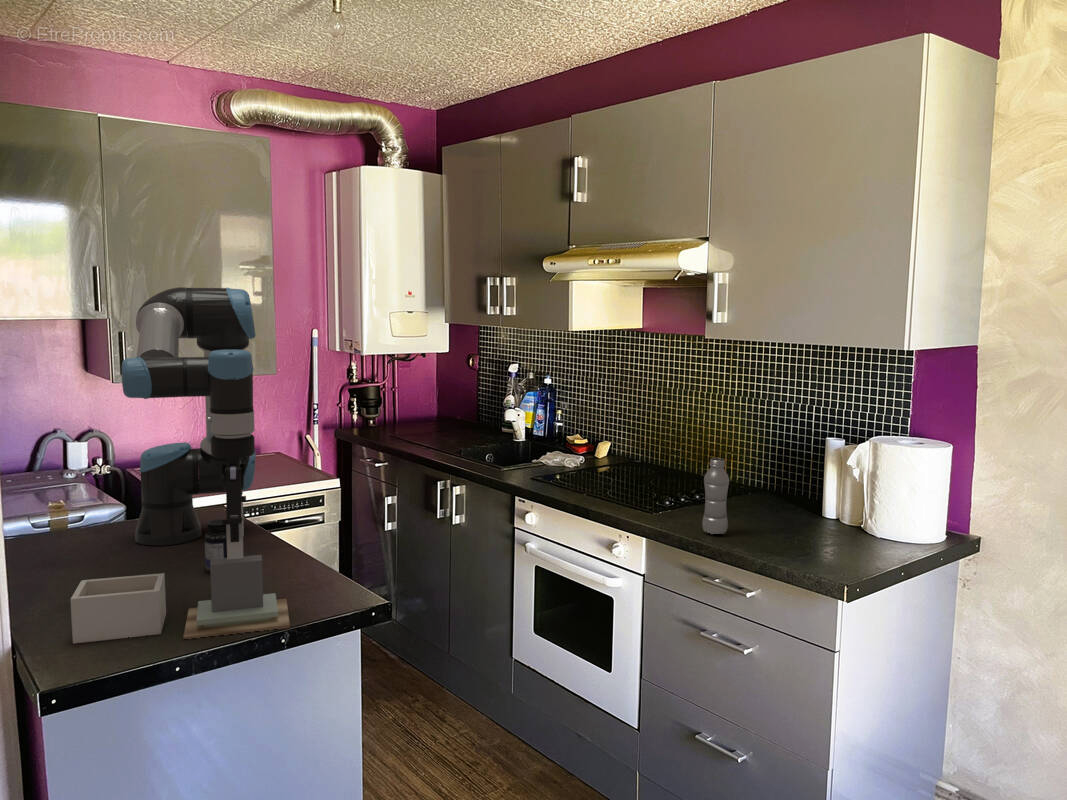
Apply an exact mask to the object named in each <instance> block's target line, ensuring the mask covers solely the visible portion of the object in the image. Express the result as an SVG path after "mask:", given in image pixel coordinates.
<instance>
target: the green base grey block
mask: <svg viewBox="0 0 1067 800" xmlns="http://www.w3.org/2000/svg"><path fill="white" fill-rule="evenodd" d="M209 574H210V598H211V599H206V600H200V601H199V600H198V602H197V608H198V610H197V620H196V622H197V626H200V625H205V628H206V627H215V626H223V625H232V624H241V623H250V622H258V621H267V620H271V617H278V607H277V600H278V599H277V594H276V593H274V592H273V593H264V581H263V579H264V578H263V556H262V554H256V555H245V556H244V555H243V558H240V559H228V560H227V558H219V559H211V561H210V573H209Z"/></svg>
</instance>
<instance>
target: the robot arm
mask: <svg viewBox="0 0 1067 800" xmlns="http://www.w3.org/2000/svg"><path fill="white" fill-rule="evenodd" d="M135 327H136V330H137V332H138V334H139V336H138V343H137V349H136V350H137V352H136V356H135V357H128V358H125V359H123V360H122V363H121V383H122V384H121V385H122V386H121V387H122V391H123V395H124V396H125V397H126V398H129V399H144V400H146V399H157V398H158V399H163V398H166V399H167V398H187V397H188V398H190V397H192V398H196V397H197V398H198V397H199V398H200V397H204V398H205V399H204V400H205V426H206V427H205V431H206V436H205V437H204V438H203V439H202V440H200V443H199V444H200V445H199V448H192V445H191V443H189V442H174V443H166V444H161V445H157V446H153V447H151V448H148V449H145V450H144V451H143V452H142V453H141V454H140V459H139V461H140V464H139V465H140V468H139V470H138V471H139V472H140V487H141V488H140V490H141V491H140V492H141V511H140V514H139V518H138V521H137V525H136V528H135V530H134V531H135V533H134V536H135V542H136V543H138V544H140V545H145V546H152V547H153V546H156V547H157V546H171V545H172V546H173V545H178V544H184V543H188V542H191V541H195V540H197V539H198V538H200V537H201V536H202V525H201V523H200V520H199V517H198V515H197V512H196V509H195V508H194V507H195V506H194V500H193V496H194V495H195V496H197V495H210V494H221V493H222V494H223V493H225V497H226V499H225V502H226V503H225V504H226V505H225V506H226V507H225V509H226V512H225V513H226V517H225V519H226V520H222V525H226V533H227V560H228V559H240V558H243V556H244V536H245V534H244V533H245V532H244V526H245V525H244V503H243V502H247V495H243V494H244V493H243V492H244V491H245V492H246V491H248V490H249V489H250V488H251V487H252V485H253V483H254V478H255V477H254V476H255V472H256V470H255V469H256V458H257V457H256V455H257V454H256V453H257V452H256V449H255V447H256V446H255V445H256V444H255V442H256V440H255V435H254V434H253V433H254V432H255V430H256V429H255V410H254V373H253V372H254V366H253V355H252V353H251V352H250V351H249V350H247V348H249V346H250V340H252V339H254V338H256V336H257V335H256V329H255V321H254V315H253V309H252V302H251V298H250V294H249V293H248V291H246V290H245V289H242V288H232V287H231V288H230V287H181V286H180V287H172V288H169V289H165V290H163V291H160V292H158V293H156V294H155V295H153V296H151V297H149V298H148V299H147V300H146V301H145V302H144V303H142V305H141V306H140V307H139V309H138V311H137V314H136V319H135ZM179 339H196V346H197V348H199V349H201V351H203V356H189V357H187V356H184V357H183V356H182V357H181V356H179V352H180V351H179V350H180V349H179V348H180V347H179V346H180V341H179Z"/></svg>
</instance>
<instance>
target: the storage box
mask: <svg viewBox="0 0 1067 800" xmlns="http://www.w3.org/2000/svg"><path fill="white" fill-rule="evenodd" d="M165 580H166V577H165V572H162V573H152V574H151V573H150V574H141V575H129V576H118V577H117V576H116V577H115V576H114V577H107V578H93V579H84V580H81V581H80V582H79V584H78V586H77V588H76V589H75V591H74V593H73V594H72V596H71V597H70V615H71V632H72V633H71V634H72V644H81V643H90V642H91V643H92V642H98V641H99V642H100V641H110V640H117V639H128V637H129V638H136V637H146V635H147V636H153V635H155V636H156V635H162V633H163V632H162V631H163V627H164V624H165V620H166V615H167V603H166V602H167V601H166V597H167V596H166V581H165Z"/></svg>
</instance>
